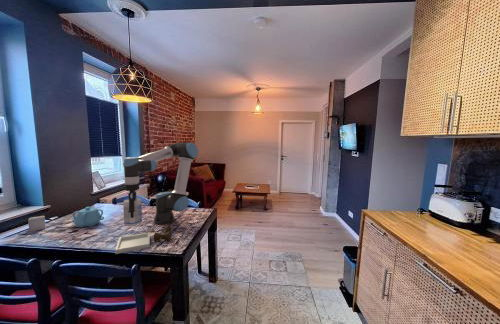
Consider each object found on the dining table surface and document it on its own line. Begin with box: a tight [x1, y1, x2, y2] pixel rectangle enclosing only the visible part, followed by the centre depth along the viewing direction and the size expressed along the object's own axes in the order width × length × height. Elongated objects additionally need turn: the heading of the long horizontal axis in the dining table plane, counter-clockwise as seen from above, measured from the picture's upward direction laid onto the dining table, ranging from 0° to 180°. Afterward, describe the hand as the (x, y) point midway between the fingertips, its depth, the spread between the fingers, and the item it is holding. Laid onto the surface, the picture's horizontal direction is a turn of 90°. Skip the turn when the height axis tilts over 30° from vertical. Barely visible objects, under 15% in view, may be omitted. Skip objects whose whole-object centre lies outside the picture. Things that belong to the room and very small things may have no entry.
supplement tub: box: [122, 197, 143, 227], centre depth 122 cm, size 10×10×15 cm
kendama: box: [153, 224, 172, 242], centre depth 132 cm, size 6×10×20 cm
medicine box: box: [27, 215, 46, 232], centre depth 142 cm, size 8×4×9 cm, turn 134°
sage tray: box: [114, 232, 151, 255], centre depth 124 cm, size 17×17×2 cm
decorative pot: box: [72, 206, 105, 228], centre depth 151 cm, size 16×16×14 cm
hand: (133, 219), depth 122 cm, fingers closed on supplement tub, 10 cm apart
